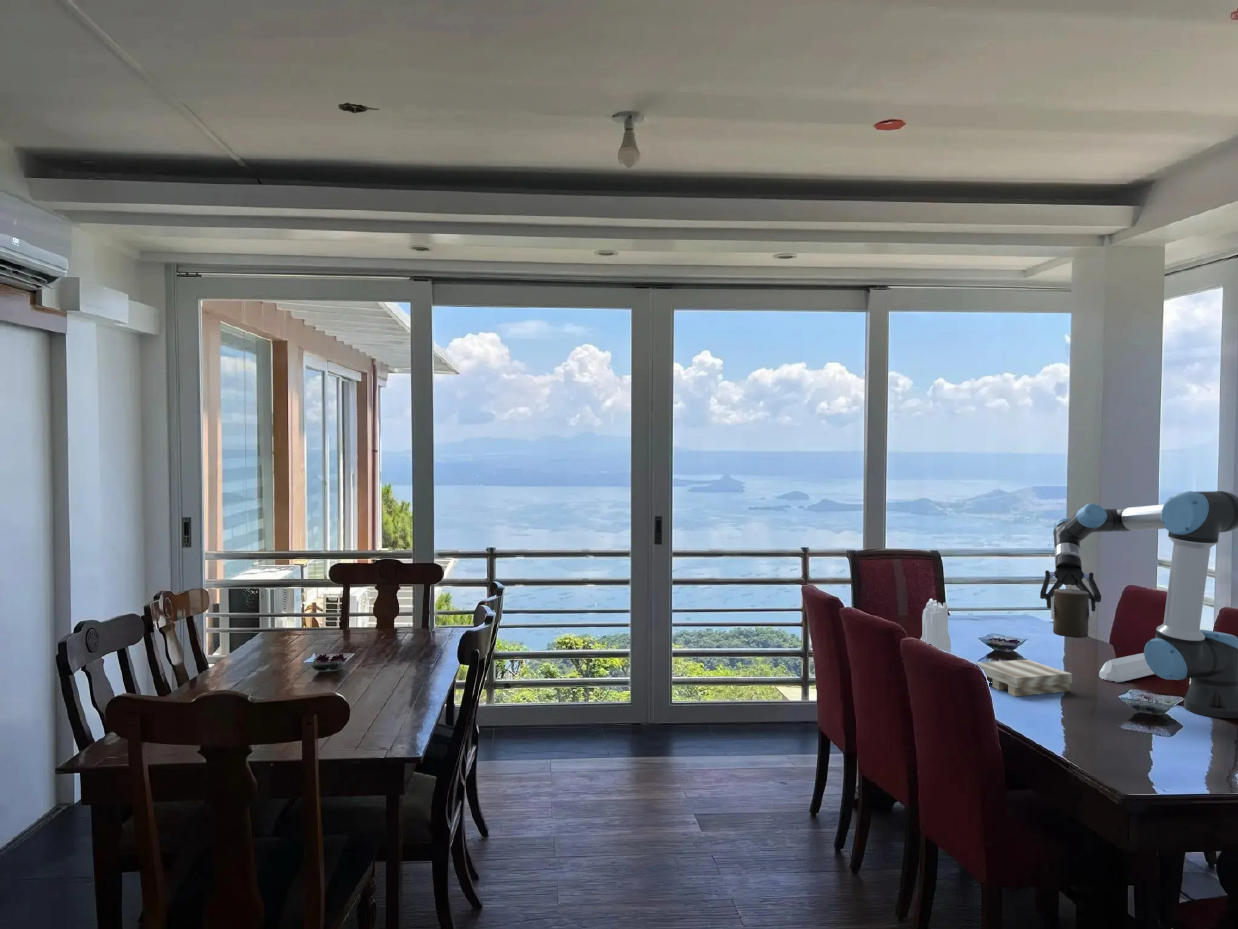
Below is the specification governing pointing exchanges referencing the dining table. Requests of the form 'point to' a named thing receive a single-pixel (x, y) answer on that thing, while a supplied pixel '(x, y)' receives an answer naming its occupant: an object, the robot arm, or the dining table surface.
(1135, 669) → the white octagonal bar
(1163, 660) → the robot arm
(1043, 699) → the dining table surface
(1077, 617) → the pillar candle
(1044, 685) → the plate
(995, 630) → the dining table surface
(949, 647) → the decorative vase
